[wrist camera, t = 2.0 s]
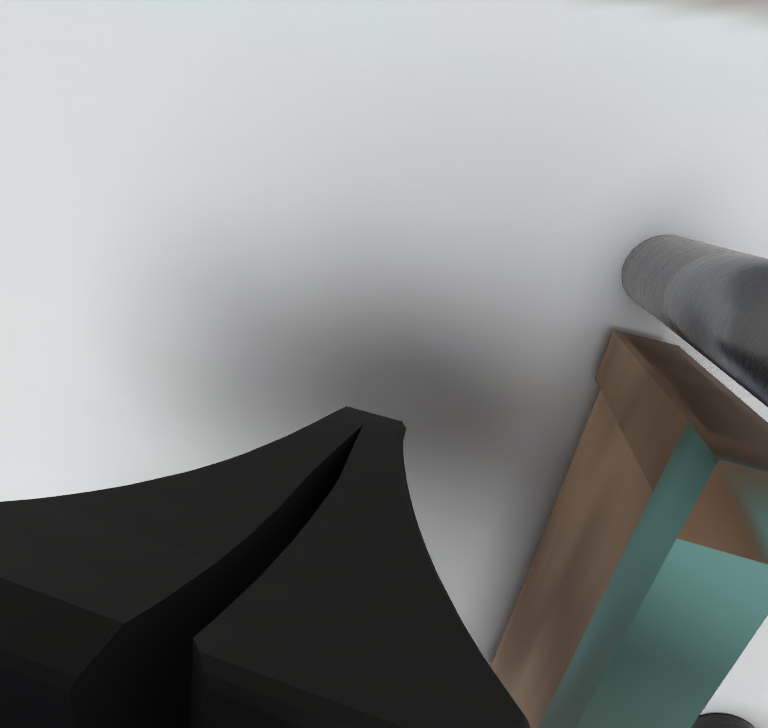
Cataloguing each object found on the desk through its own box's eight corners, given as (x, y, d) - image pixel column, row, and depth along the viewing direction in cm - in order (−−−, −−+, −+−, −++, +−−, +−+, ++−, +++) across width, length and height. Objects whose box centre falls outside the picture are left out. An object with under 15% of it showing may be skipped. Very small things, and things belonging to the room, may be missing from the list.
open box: (521, 695, 15) (532, 958, 10) (478, 680, 15) (466, 930, 10) (677, 345, 10) (850, 493, 5) (612, 330, 11) (719, 459, 6)
